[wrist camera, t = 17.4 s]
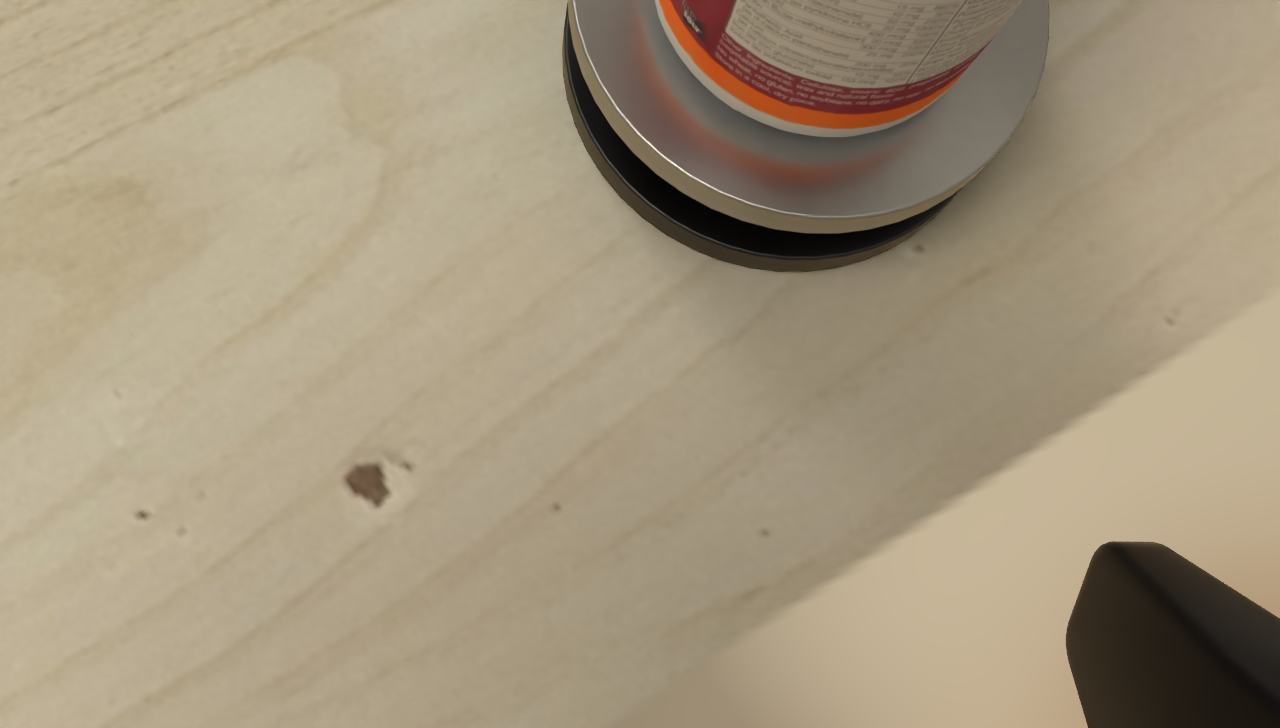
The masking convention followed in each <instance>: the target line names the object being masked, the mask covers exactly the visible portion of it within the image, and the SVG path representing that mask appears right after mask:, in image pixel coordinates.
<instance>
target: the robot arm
mask: <svg viewBox="0 0 1280 728" xmlns="http://www.w3.org/2000/svg"><path fill="white" fill-rule="evenodd" d="M1066 649H1067V656H1068V660H1069V664H1070V668H1071V671H1072V674H1073V678H1074V681H1075V684H1076V688H1077V691H1078V695H1079V698H1080V701H1081V705H1082V708H1083V711H1084V714H1085V718H1086V722H1087V725H1088V728H1280V618H1278V617H1276V616H1275V615H1273V614H1272V613H1270V612H1268V611H1267V610H1265V609H1264V608H1262V607H1261V606H1259V605H1257V604H1256V603H1254V602H1253V601H1251V600H1249V599H1248V598H1246V597H1245V596H1243V595H1242V594H1240V593H1239V592H1237V591H1235V590H1234V589H1232V588H1231V587H1229V586H1228V585H1226V584H1224V583H1223V582H1221V581H1220V580H1218V579H1217V578H1215V577H1213V576H1212V575H1210V574H1209V573H1207V572H1206V571H1204V570H1202V569H1201V568H1199V567H1198V566H1196V565H1195V564H1193V563H1191V562H1190V561H1188V560H1187V559H1185V558H1184V557H1182V556H1180V555H1179V554H1177V553H1176V552H1174V551H1173V550H1171V549H1169V548H1168V547H1166V546H1164V545H1162V544H1158V543H1154V542H1108V543H1106V544H1103V545H1101V546H1100V547H1099V548H1098V549H1097V550H1096V552H1095V553H1094V555H1093V557H1092V559H1091V562H1090V564H1089V568H1088V570H1087V573H1086V575H1085V578H1084V581H1083V584H1082V587H1081V589H1080V592H1079V595H1078V598H1077V600H1076V603H1075V606H1074V609H1073V612H1072V614H1071V617H1070V620H1069V623H1068V627H1067V634H1066Z"/></svg>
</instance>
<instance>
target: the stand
mask: <svg viewBox="0 0 1280 728" xmlns="http://www.w3.org/2000/svg"><path fill="white" fill-rule="evenodd" d="M1048 41H1049V4H1048V0H1023V2H1022V3H1021V4H1020V5H1019V6H1018V8H1017V9H1016V10H1015V11H1014V13H1013V14H1012V15H1011V16H1010V17H1009V19H1008V20H1007V21H1006V22H1005V24H1004V25H1003V26H1002V28H1001V29H1000V30H999V32H998V33H997V34H996V36H995V37H994V38H993V39H992V41H991V42H990V43H989V44H988V45H987V46H986V47H985V49H984V50H983V51H982V52H981V54H980V55H979V56H978V57H977V58H976V59H975V60H974V61H973V62H972V63H971V64H970V66H969V67H968V68H967V69H966V71H965V72H964V73H963V74H962V75H961V76H960V78H959V79H958V80H957V81H956V82H955V83H954V84H953V85H952V86H951V87H950V88H949V89H948V90H947V91H946V92H945V93H944V94H943V95H942V96H941V97H940V98H938V99H937V100H936V101H935V102H934V103H932V104H931V105H930V106H928V107H927V108H925V109H924V110H922V111H921V112H920V113H918V114H916V115H914V116H913V117H911V118H909V119H907V120H905V121H904V122H901V123H899V124H896V125H894V126H892V127H889V128H887V129H883V130H880V131H876V132H872V133H867V134H862V135H858V136H850V137H817V136H809V135H803V134H797V133H792V132H787V131H783V130H779V129H777V128H774V127H771V126H769V125H766V124H763V123H761V122H759V121H757V120H754V119H752V118H750V117H747V116H746V115H744V114H742V113H741V112H739V111H736V110H734V109H732V108H731V107H730V106H728V105H727V104H726V103H724V102H723V101H721V100H720V99H719V98H717V97H716V96H715V95H714V94H713V93H712V92H711V91H709V90H708V89H707V88H706V87H705V86H704V85H703V84H702V83H701V82H700V81H699V80H698V79H697V78H696V77H695V76H694V75H693V74H692V72H691V71H690V70H689V69H688V67H687V66H686V65H685V64H684V62H683V61H682V60H681V59H680V57H679V55H678V54H677V52H676V51H675V49H674V47H673V46H672V44H671V42H670V40H669V39H668V37H667V35H666V33H665V31H664V28H663V26H662V24H661V21H660V19H659V16H658V12H657V8H656V4H655V0H568V3H567V11H566V19H565V26H564V36H563V76H564V82H565V88H566V95H567V100H568V103H569V107H570V110H571V113H572V116H573V120H574V123H575V126H576V128H577V130H578V133H579V135H580V137H581V139H582V141H583V143H584V145H585V148H586V150H587V152H588V153H589V155H590V156H591V158H592V160H593V161H594V163H595V164H596V166H597V167H598V169H599V171H600V172H601V174H602V175H603V176H604V178H605V179H606V180H607V181H608V182H609V184H610V185H611V186H612V187H613V188H614V190H615V191H616V192H617V193H618V194H619V196H620V197H621V198H622V199H623V200H624V201H625V202H626V203H628V204H629V205H630V206H631V207H632V208H633V209H634V210H635V211H636V212H637V213H638V214H639V215H641V216H642V217H643V218H644V219H645V220H647V221H648V222H650V223H651V224H652V225H654V226H655V227H657V228H658V229H659V230H661V231H662V232H664V233H665V234H666V235H668V236H670V237H672V238H674V239H675V240H677V241H679V242H681V243H683V244H684V245H686V246H688V247H690V248H692V249H694V250H697V251H699V252H702V253H704V254H707V255H709V256H712V257H714V258H717V259H719V260H722V261H726V262H730V263H734V264H738V265H742V266H746V267H750V268H757V269H765V270H773V271H814V270H821V269H829V268H836V267H840V266H844V265H848V264H851V263H855V262H859V261H863V260H865V259H868V258H870V257H872V256H875V255H877V254H880V253H882V252H884V251H887V250H889V249H891V248H892V247H894V246H896V245H897V244H899V243H901V242H902V241H904V240H906V239H907V238H909V237H911V236H912V235H913V234H915V233H916V232H917V231H918V230H920V229H921V228H922V227H923V226H925V225H926V224H927V223H928V222H930V221H931V220H932V219H933V218H934V217H935V216H936V215H937V214H938V213H939V212H940V211H941V210H942V209H943V208H944V207H945V206H946V205H947V204H948V203H949V202H950V201H951V199H952V198H953V197H954V196H955V195H956V194H957V193H958V192H959V191H960V190H961V189H962V187H963V186H964V185H965V184H967V183H968V182H969V181H970V180H972V179H973V178H974V177H975V176H976V175H977V174H978V173H979V172H980V171H981V170H982V169H983V168H984V167H985V166H986V165H987V164H988V163H989V162H990V161H991V160H992V159H993V158H994V157H995V155H996V154H997V153H998V152H999V151H1000V150H1001V149H1002V148H1003V147H1004V146H1005V145H1006V144H1007V143H1008V141H1009V140H1010V138H1011V137H1012V135H1013V134H1014V132H1015V131H1016V130H1017V128H1018V127H1019V125H1020V124H1021V122H1022V121H1023V119H1024V117H1025V115H1026V113H1027V111H1028V109H1029V107H1030V105H1031V103H1032V101H1033V99H1034V97H1035V95H1036V92H1037V89H1038V86H1039V83H1040V79H1041V76H1042V73H1043V70H1044V66H1045V60H1046V54H1047V47H1048Z"/></svg>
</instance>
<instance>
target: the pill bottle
mask: <svg viewBox="0 0 1280 728" xmlns="http://www.w3.org/2000/svg"><path fill="white" fill-rule="evenodd" d="M1022 2H1023V0H655V4H656V8H657V12H658V16H659V19H660V21H661V24H662V26H663V28H664V31H665V33H666V35H667V37H668V39H669V40H670V42H671V44H672V46H673V47H674V49H675V51H676V52H677V54H678V55H679V57H680V59H681V60H682V61H683V62H684V64H685V65H686V66H687V67H688V69H689V70H690V71H691V72H692V74H693V75H694V76H695V77H696V78H697V79H698V80H699V81H700V82H701V83H702V84H703V85H704V86H705V87H706V88H707V89H708V90H709V91H711V92H712V93H713V94H714V95H715V96H716V97H717V98H719V99H720V100H721V101H723V102H724V103H726V104H727V105H728V106H730V107H731V108H732V109H734V110H736V111H739V112H741V113H742V114H744V115H746V116H747V117H750V118H752V119H754V120H757V121H759V122H761V123H763V124H766V125H769V126H771V127H774V128H777V129H779V130H783V131H787V132H792V133H797V134H803V135H809V136H817V137H850V136H858V135H862V134H867V133H872V132H876V131H880V130H883V129H887V128H889V127H892V126H894V125H896V124H899V123H901V122H904V121H905V120H907V119H909V118H911V117H913V116H914V115H916V114H918V113H920V112H921V111H922V110H924V109H925V108H927V107H928V106H930V105H931V104H932V103H934V102H935V101H936V100H937V99H938V98H940V97H941V96H942V95H943V94H944V93H945V92H946V91H947V90H948V89H949V88H950V87H951V86H952V85H953V84H954V83H955V82H956V81H957V80H958V79H959V78H960V76H961V75H962V74H963V73H964V72H965V71H966V69H967V68H968V67H969V66H970V64H971V63H972V62H973V61H974V60H975V59H976V58H977V57H978V56H979V55H980V54H981V52H982V51H983V50H984V49H985V47H986V46H987V45H988V44H989V43H990V42H991V41H992V39H993V38H994V37H995V36H996V34H997V33H998V32H999V30H1000V29H1001V28H1002V26H1003V25H1004V24H1005V22H1006V21H1007V20H1008V19H1009V17H1010V16H1011V15H1012V14H1013V13H1014V11H1015V10H1016V9H1017V8H1018V6H1019V5H1020V4H1021V3H1022Z"/></svg>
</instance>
